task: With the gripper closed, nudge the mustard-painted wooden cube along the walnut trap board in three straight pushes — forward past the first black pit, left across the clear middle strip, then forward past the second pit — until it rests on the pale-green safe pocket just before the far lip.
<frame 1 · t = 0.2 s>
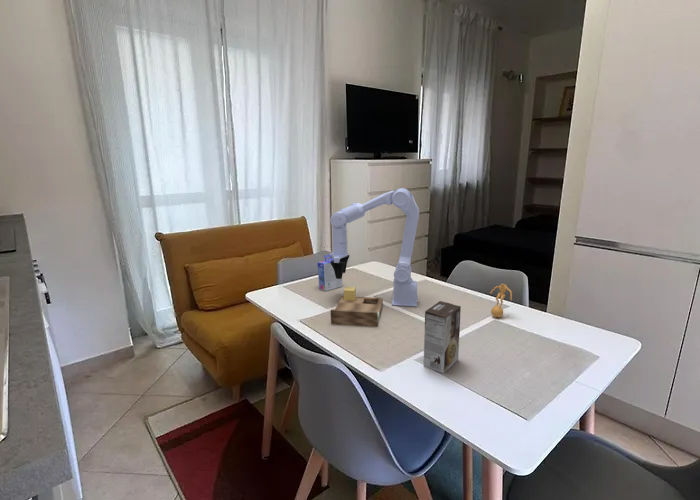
hand: (340, 275, 150), 10 cm above the table, fingers open, 7 cm apart
figurine: (498, 316, 133), on the table
trap board: (358, 313, 137), on the table
cube: (350, 298, 145), point 2 cm above the table, touching trap board
coffee box: (440, 363, 103), on the table
ink cartridge box: (330, 288, 166), on the table
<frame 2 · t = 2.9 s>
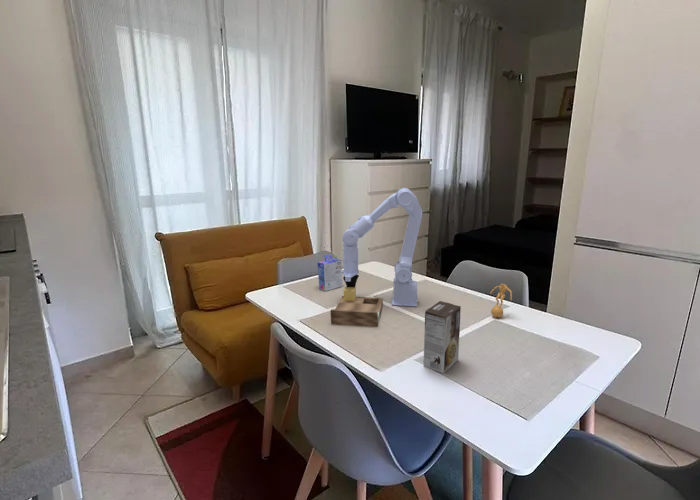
hand: (351, 293, 148), 3 cm above the table, fingers closed
cube: (349, 298, 145), point 3 cm above the table, touching gripper
everything else where it was.
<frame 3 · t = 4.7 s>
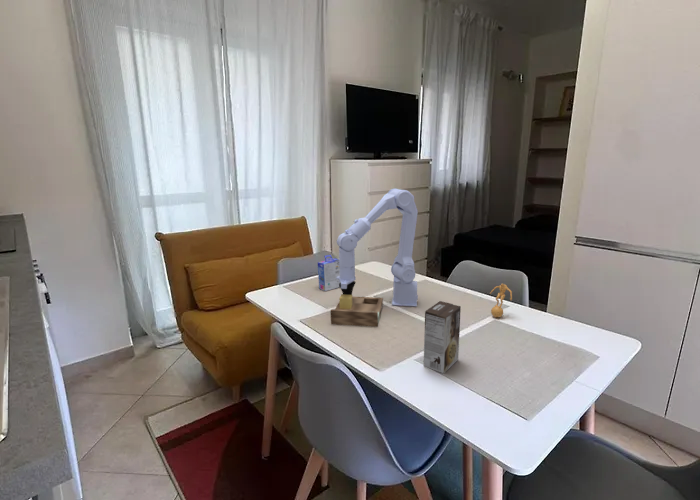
hand: (347, 300, 140), 3 cm above the table, fingers closed
cube: (346, 306, 137), point 3 cm above the table, touching gripper, trap board
everything else where it was.
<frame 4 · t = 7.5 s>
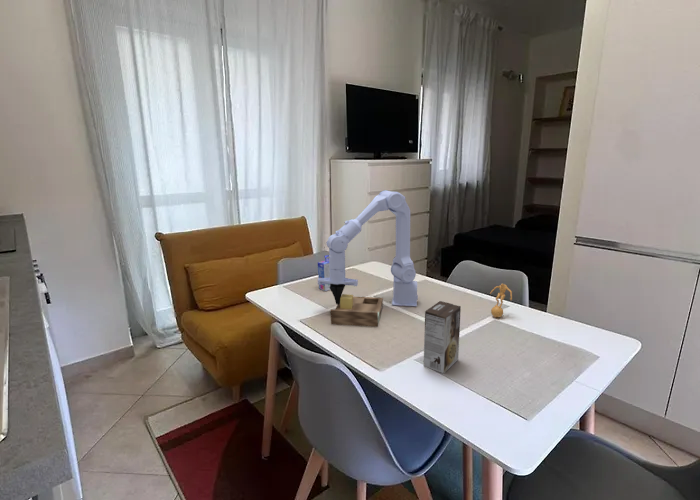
hand: (338, 303, 138), 3 cm above the table, fingers closed
nothing on the table moved.
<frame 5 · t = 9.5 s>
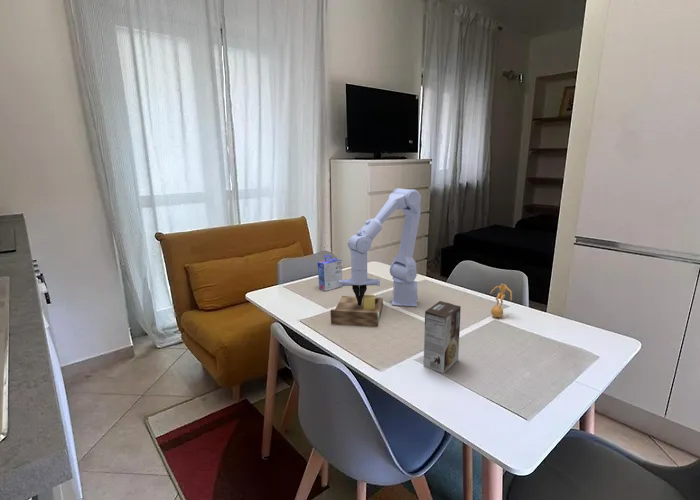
hand: (359, 304, 136), 3 cm above the table, fingers closed
cube: (368, 307, 136), point 3 cm above the table, touching gripper, trap board
everything else where it was.
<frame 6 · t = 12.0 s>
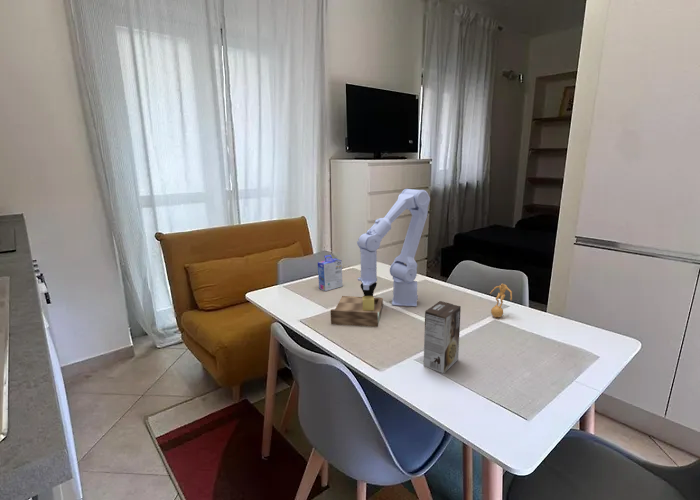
hand: (368, 302, 139), 3 cm above the table, fingers closed
cube: (368, 308, 135), point 3 cm above the table, touching gripper
everything else where it was.
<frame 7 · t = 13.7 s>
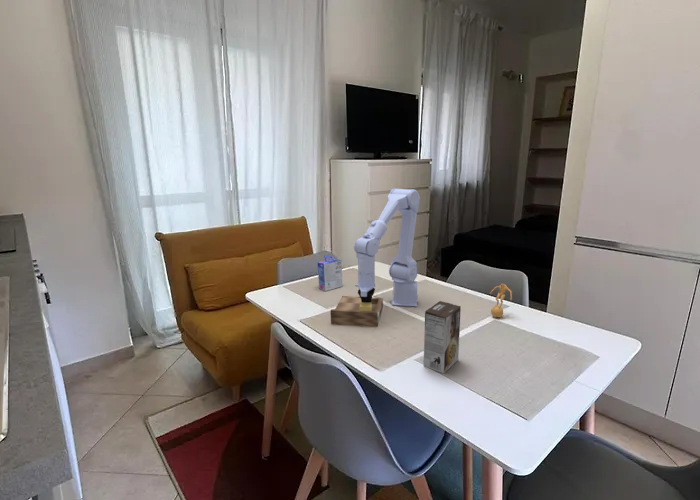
hand: (366, 309, 132), 3 cm above the table, fingers closed
cube: (365, 315, 129), point 3 cm above the table, touching gripper, trap board
everything else where it was.
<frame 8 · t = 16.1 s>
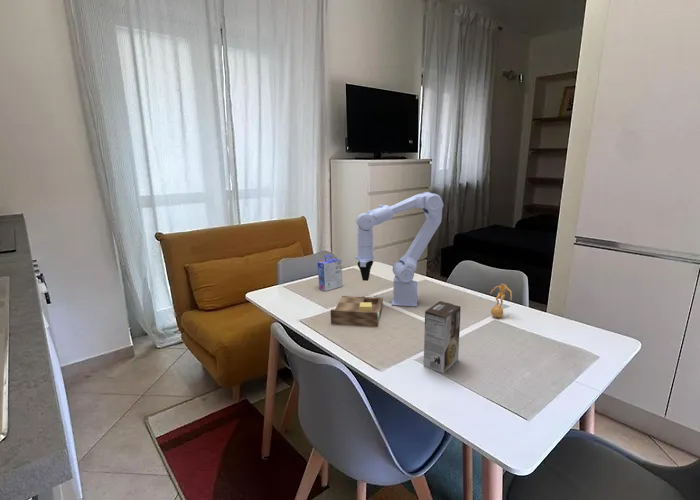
hand: (365, 280, 143), 10 cm above the table, fingers closed
cube: (365, 315, 129), point 2 cm above the table, touching trap board
everything else where it was.
at the end: cube inside the target area (1.0 cm from its centre), point 2.5 cm above the table; cube tilted 0°; cube touching trap board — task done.
